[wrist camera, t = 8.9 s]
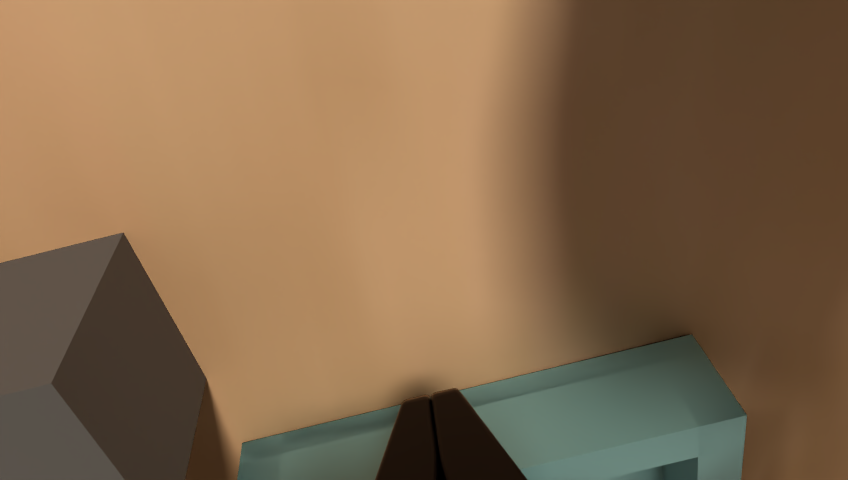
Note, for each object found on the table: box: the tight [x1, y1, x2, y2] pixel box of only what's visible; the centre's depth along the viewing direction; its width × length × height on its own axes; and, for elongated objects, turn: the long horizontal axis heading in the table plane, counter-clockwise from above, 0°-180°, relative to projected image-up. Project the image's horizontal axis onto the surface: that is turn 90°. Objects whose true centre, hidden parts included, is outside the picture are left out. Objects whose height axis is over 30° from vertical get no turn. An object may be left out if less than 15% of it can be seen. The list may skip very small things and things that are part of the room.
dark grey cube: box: [0, 233, 206, 480], centre depth 12 cm, size 4×4×4 cm
